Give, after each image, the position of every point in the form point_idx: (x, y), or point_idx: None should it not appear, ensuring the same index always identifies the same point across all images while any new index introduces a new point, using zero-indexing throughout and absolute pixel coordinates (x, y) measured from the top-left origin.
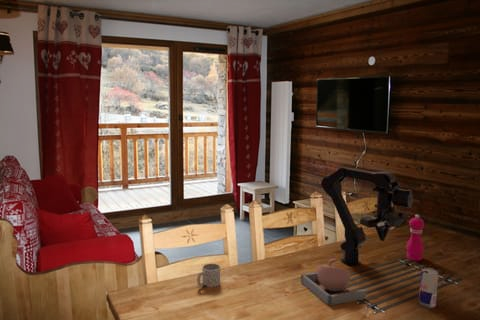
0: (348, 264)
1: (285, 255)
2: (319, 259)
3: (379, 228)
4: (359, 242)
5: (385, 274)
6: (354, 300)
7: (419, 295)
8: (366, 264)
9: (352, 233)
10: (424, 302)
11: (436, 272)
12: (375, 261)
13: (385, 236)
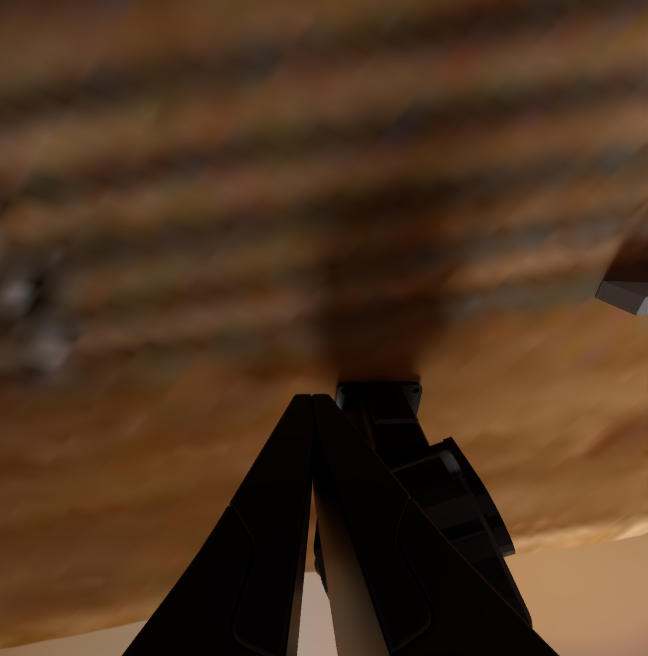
0: (420, 388)
1: (559, 523)
2: (478, 471)
3: None
4: (443, 491)
5: (302, 212)
6: None
7: None
8: (310, 371)
9: (527, 612)
10: None
11: None
12: (231, 388)
13: (276, 447)
